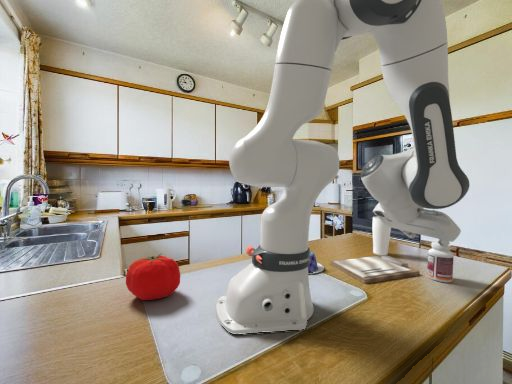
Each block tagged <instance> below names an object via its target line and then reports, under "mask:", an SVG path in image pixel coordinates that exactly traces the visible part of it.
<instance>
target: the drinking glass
mask: <svg viewBox="0 0 512 384" xmlns="http://www.w3.org/2000/svg"><path fill="white" fill-rule="evenodd" d="M371 223H372V224H371V225H372V226H371V227H372V228H371V230H372V231H371V232H372V253H373V254H374V255H375V256H378V255H379V256H388V254H389V247H390V246H389V244H390V238H391V231H392V228H390V227H388V226H386V225H385V224H384V223H383V222H382V221H381V220H380V219H379V217H378V216H377V215H375V216H372V222H371Z"/></svg>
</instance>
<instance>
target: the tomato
mask: <svg viewBox="0 0 512 384" xmlns="http://www.w3.org/2000/svg"><path fill="white" fill-rule="evenodd" d="M162 254H163V253H162V252H161V253H160V254H158V255H156V256H154V255H151V256H147V257H141V258H139V259H136V260H135V261H133V262H132V263H131V264H130V265H129V267H128V269H127V272H126V275H125V285H126V288H127V290H128V291H129V292H130V293H131V294H132V295H134V296H135V297H136V298H138V299H141V300H142V301H148V300H149V301H150V300H157V299H159V300H160V299H163V298H166V297H169V296H170V295H171V294H173V293H174V292H175V291H176V290H177V289H178V287H179V286H180V283H181V271H180V266H179V264H178V263H177V262H176V261H175V259H174V258H170V257H167V256H165V255H162Z"/></svg>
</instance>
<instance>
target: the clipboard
mask: <svg viewBox="0 0 512 384" xmlns="http://www.w3.org/2000/svg"><path fill="white" fill-rule="evenodd" d="M329 264H330V266H331V265H332V266H333V267H334V268H336V269H338V270H339V271H341V272H343V273H345V274H347V275H349V276H350V277H352V278H354V279H355V280H358V281H359V282H361V283H363V284H371V283H372V284H373V283H376V282H385V281H389V280H396V279H401V278H409V277H415V276H420V272H421V271H419V270H418V269H414V268H413V267H410V266H409V263H408V262H405V261H403V260H401V259H398V258H395V257H393V256H390V255H386V256H380V255H372V256H371V255H370V256H362V257H354V258H346V259H336V260H330V263H329Z"/></svg>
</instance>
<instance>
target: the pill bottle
mask: <svg viewBox="0 0 512 384" xmlns="http://www.w3.org/2000/svg"><path fill="white" fill-rule="evenodd" d="M430 246H431V248H430V249H428V250H427V266H426V268H427V269H426V275H427V278H429V279H430V280H433V281H435V282H440V283H445V284H447V283H451V282H452V281H453V279H454V278H453V275H454V257H455V256H454V254H453V252H452V251H451V248H452V245H451V244H449V245H448V247H444V246H440V244H439V243H438V241H432V242H431V245H430Z"/></svg>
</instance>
